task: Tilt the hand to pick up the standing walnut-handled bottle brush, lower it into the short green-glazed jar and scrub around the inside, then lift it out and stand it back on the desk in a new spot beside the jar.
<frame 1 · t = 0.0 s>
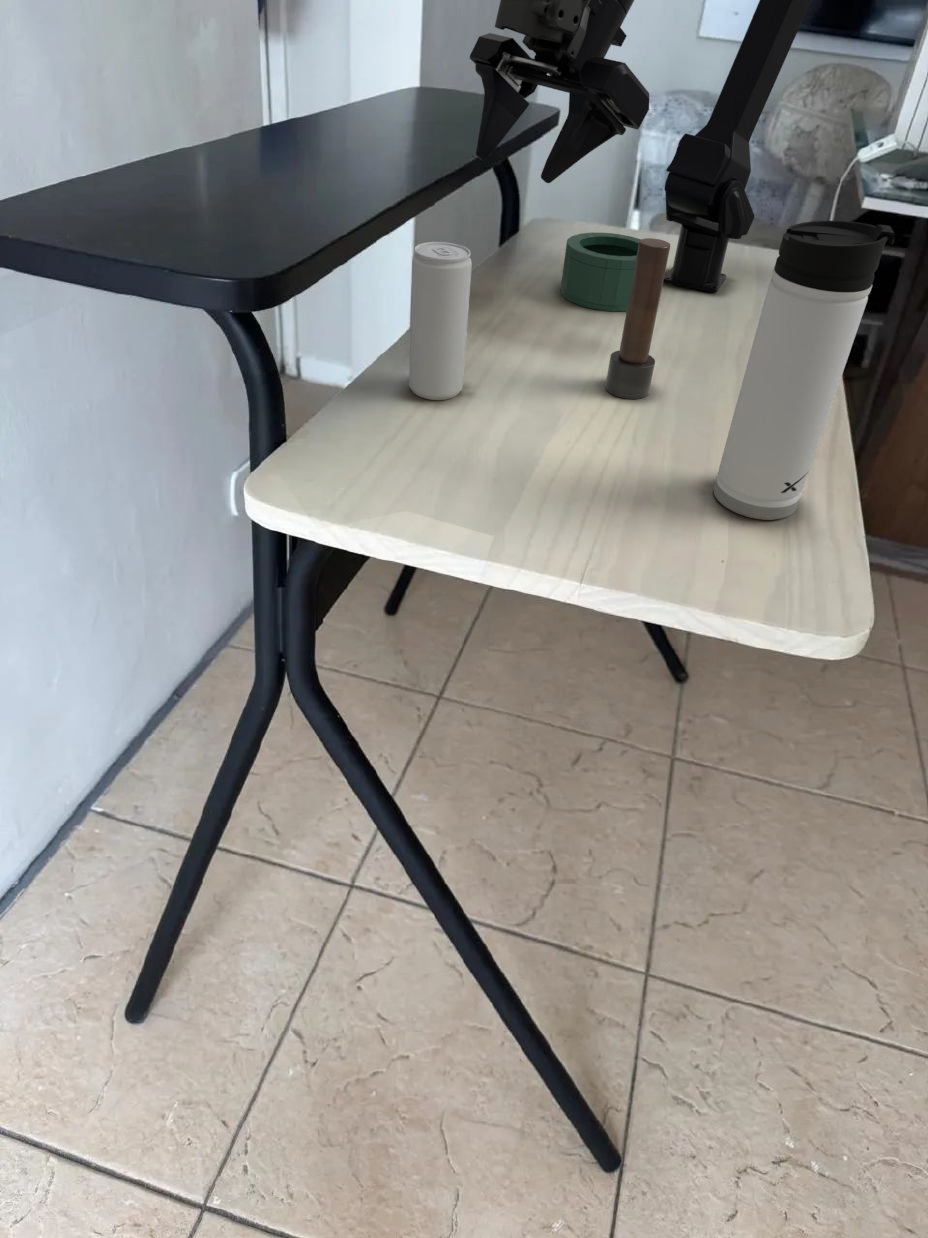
hand: (511, 168, 85), 15 cm above the table, tool tilted 35°, fingers open, 9 cm apart
travel mug: (755, 502, 70), on the table
brush: (626, 389, 84), on the table
jar: (604, 295, 105), on the table
beverage can: (434, 392, 81), on the table
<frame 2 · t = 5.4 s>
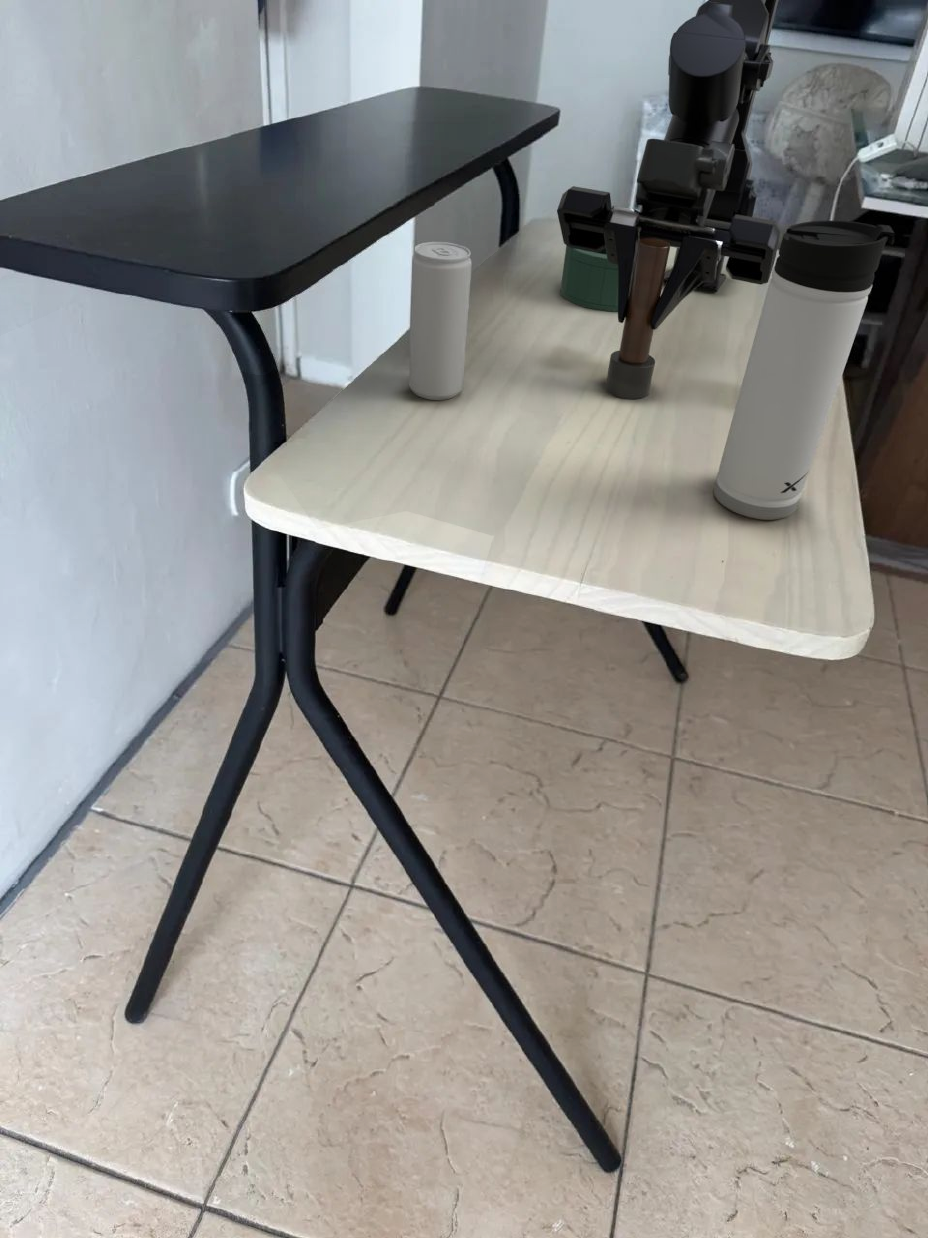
hand: (636, 323, 79), 7 cm above the table, tool tilted 45°, fingers closed on brush, 2 cm apart
brush: (626, 389, 84), on the table, touching gripper
everything else where it was.
when the fingers open (7 cm above the table, at t = 18.3 s): brush stays where it is, on the table.
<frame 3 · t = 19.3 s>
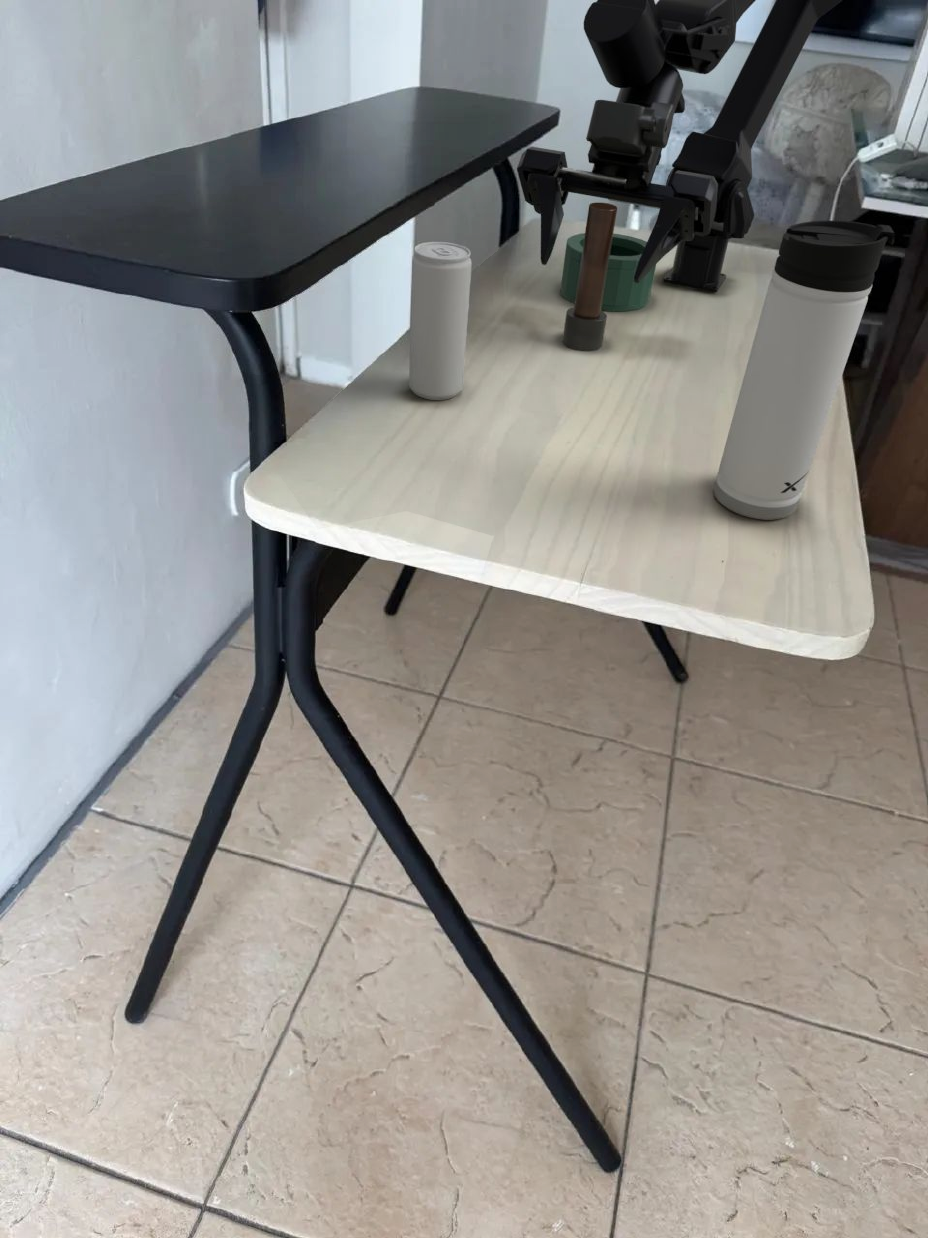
hand: (588, 271, 87), 7 cm above the table, tool tilted 45°, fingers open, 9 cm apart
brush: (582, 343, 93), on the table
everything else where it was.
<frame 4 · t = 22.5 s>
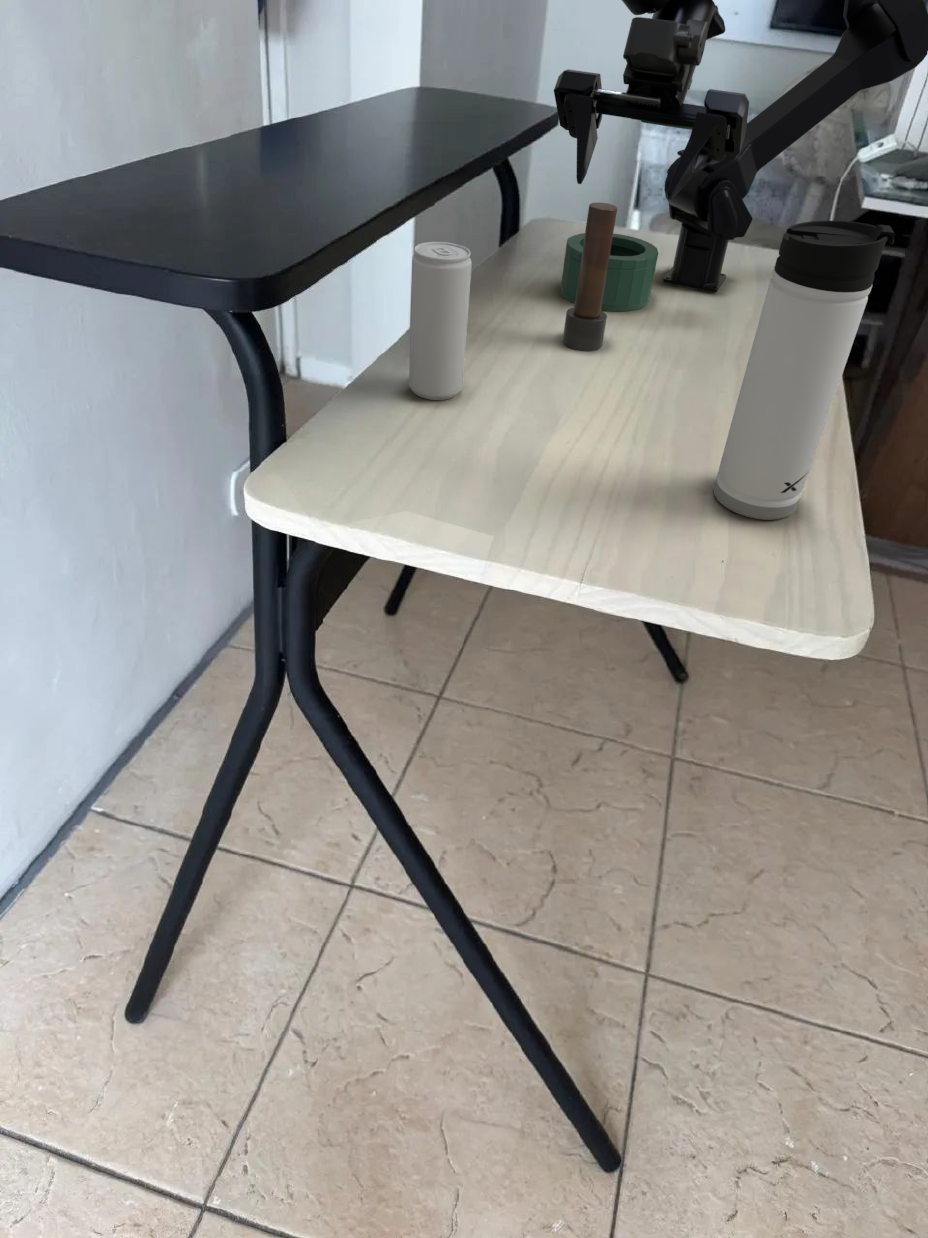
hand: (623, 188, 90), 13 cm above the table, tool tilted 45°, fingers open, 9 cm apart
nothing on the table moved.
at the end: brush 0.2 cm from the target spot, on the table; brush tilted 0°; jar moved 0.0 cm from its start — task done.
